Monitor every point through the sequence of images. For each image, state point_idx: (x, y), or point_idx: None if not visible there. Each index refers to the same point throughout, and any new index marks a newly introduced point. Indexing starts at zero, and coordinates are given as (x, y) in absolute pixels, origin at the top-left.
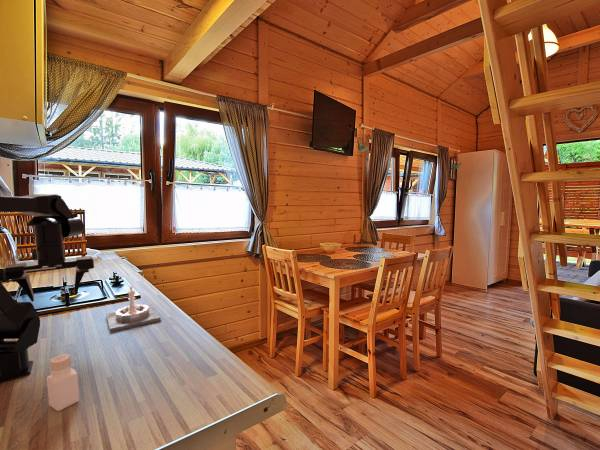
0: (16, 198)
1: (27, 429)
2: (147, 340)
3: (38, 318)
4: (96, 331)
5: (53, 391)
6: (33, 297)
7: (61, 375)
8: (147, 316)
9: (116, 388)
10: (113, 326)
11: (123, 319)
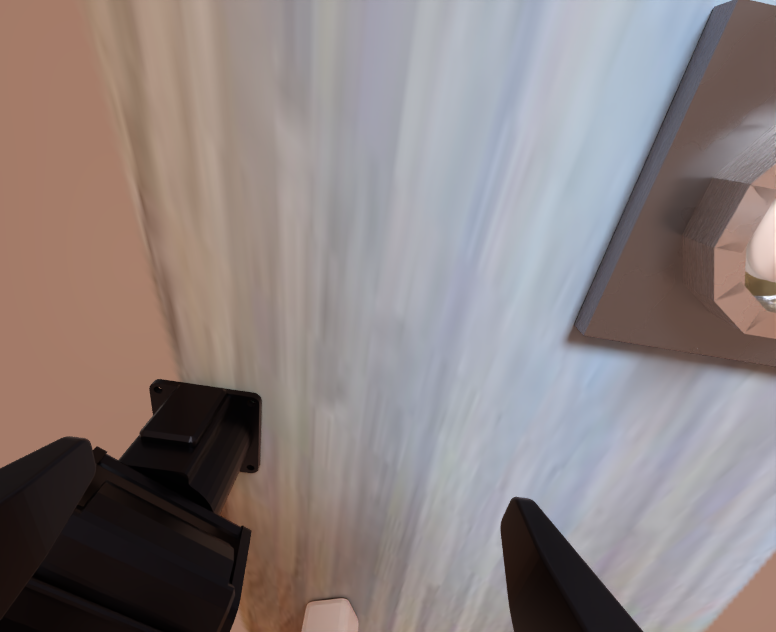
0: None
1: (273, 628)
2: (620, 491)
3: (219, 626)
4: (538, 253)
5: None
6: (57, 510)
7: None
8: None
9: (428, 623)
10: (612, 317)
11: (699, 295)
